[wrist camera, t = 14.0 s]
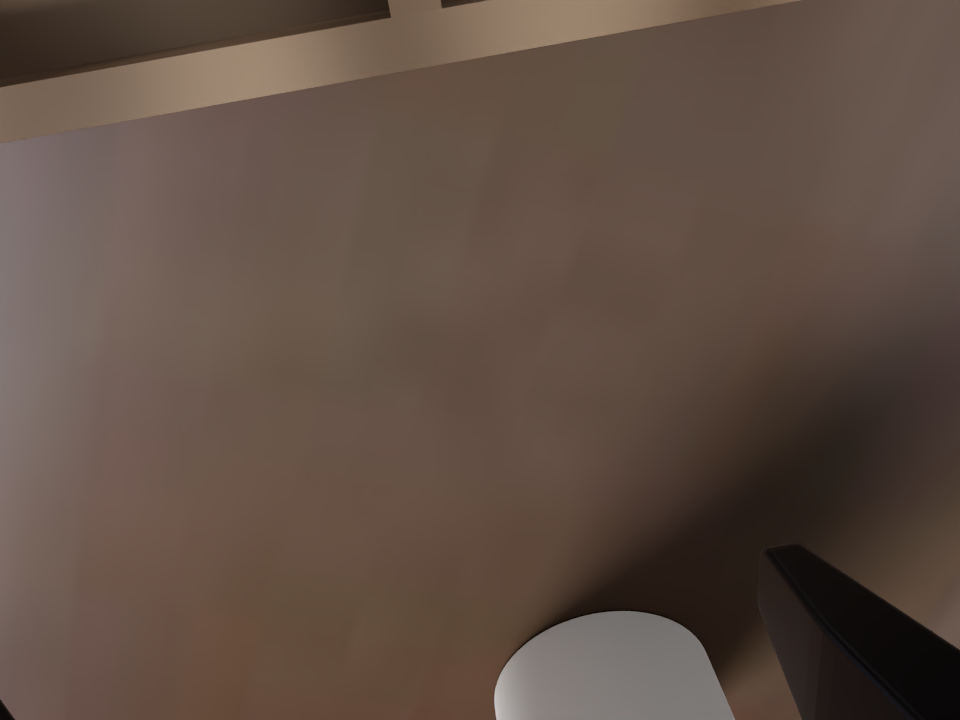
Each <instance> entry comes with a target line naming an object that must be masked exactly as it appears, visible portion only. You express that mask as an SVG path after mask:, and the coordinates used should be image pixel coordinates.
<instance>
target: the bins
mask: <svg viewBox="0 0 960 720" xmlns="http://www.w3.org/2000/svg"><path fill="white" fill-rule="evenodd" d="M793 1H799V0H0V143H5V142H11V141H16V140H22V139H27V138H33V137H39V136H44V135H50V134H55V133H61V132H67V131H72V130H78V129H83V128H89V127H95V126H100V125H106V124H111V123H117V122H122V121H128V120H134V119H139V118H145V117H150V116H156V115H162V114H167V113H173V112H178V111H184V110H190V109H195V108H201V107H206V106H212V105H217V104H223V103H229V102H234V101H240V100H245V99H251V98H257V97H262V96H268V95H273V94H279V93H285V92H290V91H296V90H301V89H307V88H312V87H318V86H324V85H329V84H335V83H340V82H346V81H352V80H357V79H363V78H368V77H374V76H380V75H385V74H391V73H396V72H402V71H408V70H413V69H419V68H424V67H430V66H435V65H441V64H447V63H452V62H458V61H463V60H469V59H475V58H480V57H486V56H491V55H497V54H503V53H508V52H514V51H519V50H525V49H530V48H536V47H542V46H547V45H553V44H558V43H564V42H570V41H575V40H581V39H586V38H592V37H598V36H603V35H609V34H614V33H620V32H625V31H631V30H637V29H642V28H648V27H653V26H659V25H665V24H670V23H676V22H681V21H687V20H693V19H698V18H704V17H709V16H715V15H720V14H726V13H732V12H737V11H743V10H748V9H754V8H760V7H765V6H771V5H776V4H782V3H788V2H793Z"/></svg>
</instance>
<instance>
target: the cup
mask: <svg viewBox="0 0 960 720" xmlns="http://www.w3.org/2000/svg"><path fill="white" fill-rule="evenodd" d="M494 703H495V711H496V719H497V720H735V719H734V716H733V714H732V712H731V709H730V707H729V705H728V702H727V700H726V698H725V695H724V693H723V691H722V688H721V686H720V684H719V681H718V679H717V677H716V674H715V672H714V670H713V667H712V665H711V663H710V660H709V658H708V656H707V653H706V651H705V649H704V647H703V646H702V644H701V643H700V641H699V640H698V639H697V638H696V637H695V636H694V635H693V634H692V633H691V632H690V631H689V630H688V629H686V628H685V627H683V626H682V625H680V624H678V623H676V622H674V621H672V620H670V619H667V618H664V617H661V616H658V615H654V614H650V613H644V612H635V611H611V612H601V613H595V614H590V615H585V616H581V617H578V618H574V619H571V620H568V621H565V622H563V623H560V624H558V625H556V626H554V627H551V628H550V629H548V630H546V631H544V632H542V633H540V634H539V635H537V636H536V637H534V638H533V639H531V640H530V641H529V642H527V643H526V644H525V645H524V646H522V647H521V648H520V649H519V650H518V651H517V652H516V653H515V654H514V655H513V656H512V657H511V659H510V660H509V661H508V662H507V664H506V665H505V667H504V669H503V670H502V672H501V674H500V676H499V678H498V681H497V684H496V688H495V696H494Z"/></svg>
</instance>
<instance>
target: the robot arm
mask: <svg viewBox="0 0 960 720" xmlns="http://www.w3.org/2000/svg"><path fill="white" fill-rule="evenodd" d="M758 604H759V609H760V613H761V616H762V619H763V621H764V624H765V627H766V629H767V632H768V634H769V637H770V639H771V642H772V644H773V647H774V649H775V652H776V655H777V657H778V660H779V662H780V665H781V667H782V670H783V672H784V675H785V677H786V680H787V683H788V685H789V688H790V690H791V693H792V695H793V698H794V700H795V703H796V705H797V708H798V711H799V713H800V716H801V718H802V720H960V650H959V649H958V648H956V647H955V646H953V645H952V644H950V643H949V642H947V641H946V640H944V639H943V638H941V637H940V636H938V635H937V634H935V633H934V632H932V631H931V630H929V629H928V628H926V627H925V626H923V625H922V624H920V623H919V622H917V621H915V620H914V619H912V618H911V617H909V616H908V615H906V614H905V613H903V612H902V611H900V610H899V609H897V608H896V607H894V606H893V605H891V604H890V603H888V602H887V601H885V600H884V599H882V598H881V597H879V596H878V595H876V594H875V593H873V592H872V591H870V590H869V589H867V588H866V587H864V586H863V585H861V584H860V583H858V582H857V581H855V580H854V579H852V578H851V577H849V576H848V575H846V574H845V573H843V572H842V571H840V570H839V569H837V568H836V567H834V566H833V565H831V564H830V563H828V562H827V561H825V560H824V559H822V558H821V557H819V556H818V555H816V554H815V553H813V552H812V551H810V550H809V549H807V548H806V547H804V546H802V545H801V544H798V543H794V542H790V543H784V544H779V545H773V546H768V547H765V548H763V549H762V550H761V552H760V555H759V574H758ZM0 720H15V719H14V718H13V716H12V715H11V713H10V712H9V711H8V709H7V708H6V707H5V705H4V704H3V702H2V701H1V700H0Z"/></svg>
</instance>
